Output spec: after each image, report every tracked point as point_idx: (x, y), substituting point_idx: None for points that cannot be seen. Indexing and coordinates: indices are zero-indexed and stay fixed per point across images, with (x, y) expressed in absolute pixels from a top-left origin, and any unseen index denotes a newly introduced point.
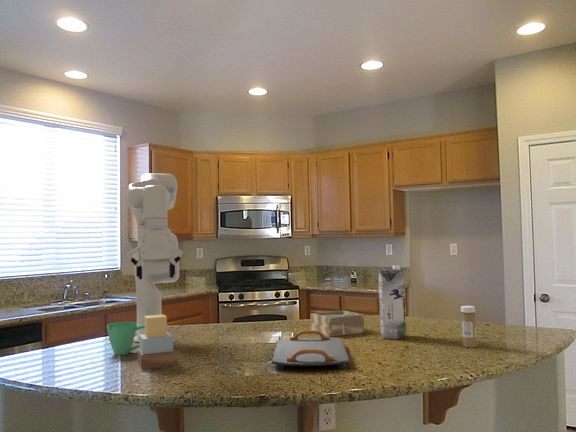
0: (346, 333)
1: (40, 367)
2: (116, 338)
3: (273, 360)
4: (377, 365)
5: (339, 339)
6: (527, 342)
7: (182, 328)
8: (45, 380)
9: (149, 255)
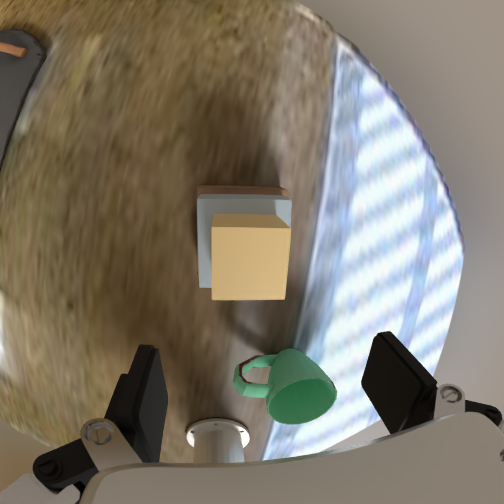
0: None
1: (422, 306)
2: (313, 364)
3: (37, 62)
4: None
5: None
6: None
7: None
8: (433, 206)
9: (443, 459)
